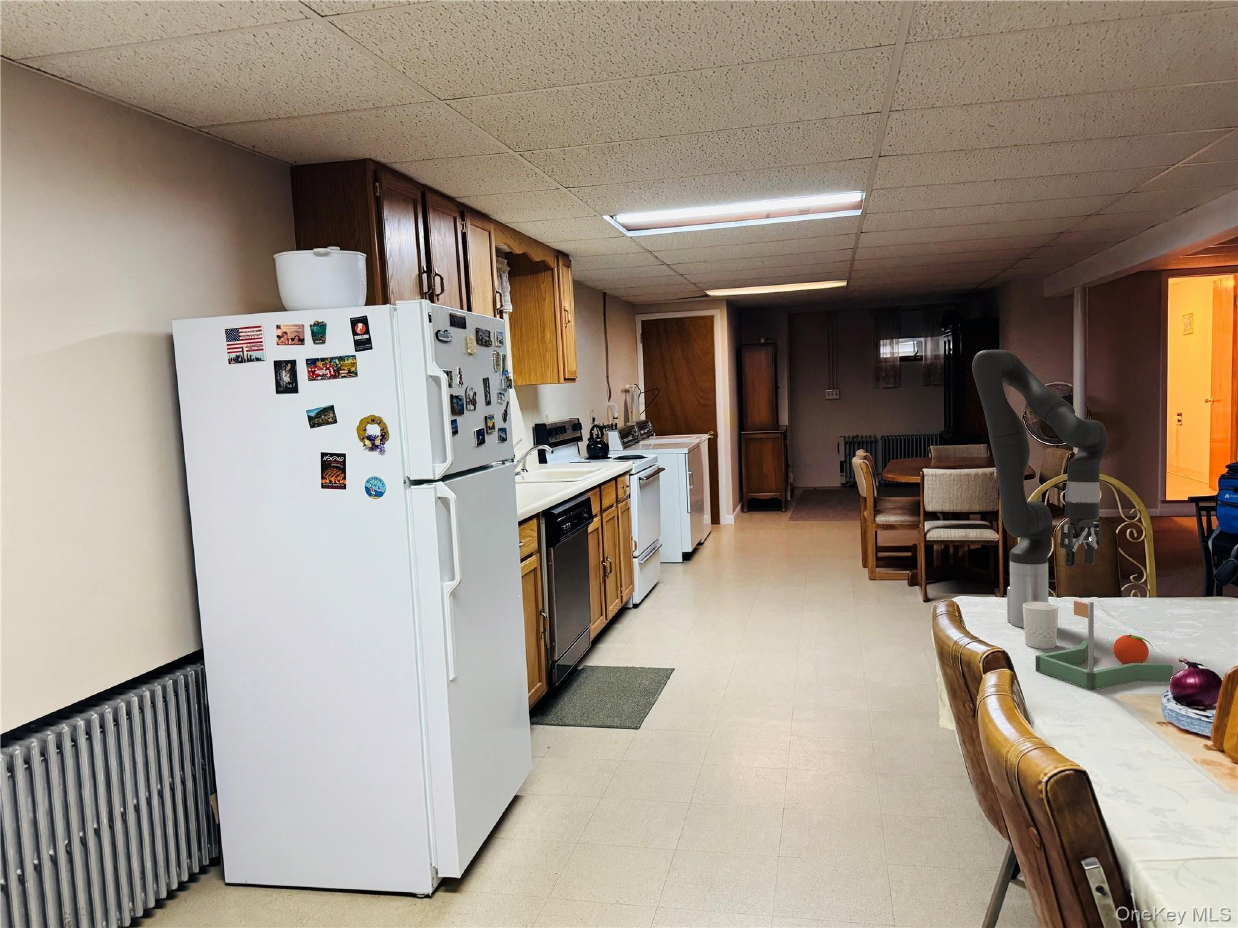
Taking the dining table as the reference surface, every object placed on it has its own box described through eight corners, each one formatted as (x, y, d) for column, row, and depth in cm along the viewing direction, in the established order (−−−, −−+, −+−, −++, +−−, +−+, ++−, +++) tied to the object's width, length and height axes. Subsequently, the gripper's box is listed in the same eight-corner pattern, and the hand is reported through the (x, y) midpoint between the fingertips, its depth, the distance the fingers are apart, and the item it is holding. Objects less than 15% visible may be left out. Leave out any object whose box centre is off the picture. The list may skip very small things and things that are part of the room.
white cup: (1044, 651, 202) (1044, 611, 201) (1015, 644, 209) (1015, 604, 208) (1065, 646, 206) (1065, 606, 205) (1036, 638, 213) (1036, 600, 212)
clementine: (1157, 665, 189) (1157, 634, 189) (1150, 673, 184) (1150, 641, 184) (1117, 658, 195) (1117, 628, 194) (1109, 666, 190) (1109, 635, 189)
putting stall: (1022, 665, 193) (1021, 586, 191) (1085, 653, 199) (1085, 576, 198) (1107, 695, 172) (1107, 607, 171) (1175, 681, 179) (1175, 595, 177)
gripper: (1083, 498, 215) (1080, 560, 216) (1051, 499, 207) (1049, 564, 208) (1113, 500, 209) (1110, 565, 209) (1081, 502, 201) (1079, 569, 202)
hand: (1080, 564), depth 209 cm, fingers open, 8 cm apart
